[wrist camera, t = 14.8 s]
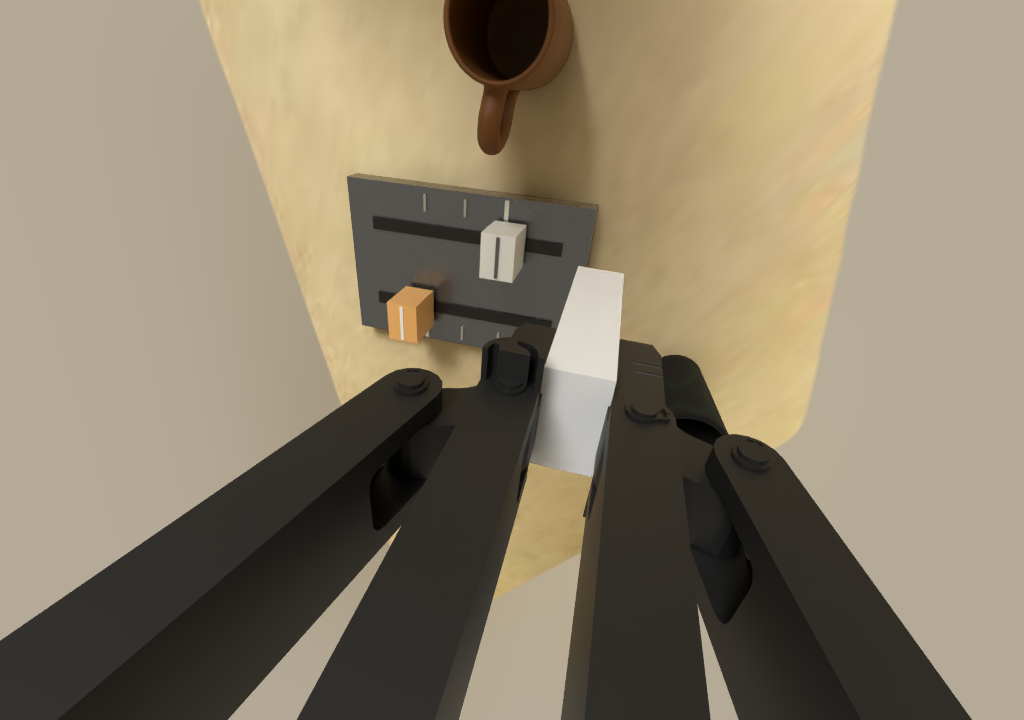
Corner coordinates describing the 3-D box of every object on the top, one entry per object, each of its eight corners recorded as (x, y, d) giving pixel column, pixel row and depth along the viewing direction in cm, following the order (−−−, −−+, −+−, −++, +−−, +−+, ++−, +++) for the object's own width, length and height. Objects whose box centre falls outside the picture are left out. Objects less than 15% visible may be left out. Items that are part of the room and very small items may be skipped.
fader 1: (406, 285, 47) (386, 302, 43) (433, 290, 47) (415, 307, 43) (407, 320, 49) (388, 339, 46) (433, 325, 49) (416, 344, 45)
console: (357, 173, 45) (345, 176, 43) (598, 205, 41) (596, 210, 40) (370, 317, 54) (361, 325, 52) (572, 355, 50) (569, 365, 48)
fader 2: (494, 220, 42) (480, 232, 38) (526, 225, 41) (515, 237, 37) (492, 262, 44) (478, 278, 40) (522, 267, 43) (511, 283, 40)
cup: (631, 350, 48) (630, 418, 38) (710, 341, 45) (731, 411, 35) (640, 409, 51) (641, 486, 41) (714, 404, 49) (734, 485, 39)
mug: (552, 155, 40) (532, 169, 32) (471, 138, 41) (432, 148, 33) (585, -17, 34) (569, -51, 26) (488, -33, 35) (445, -71, 27)
